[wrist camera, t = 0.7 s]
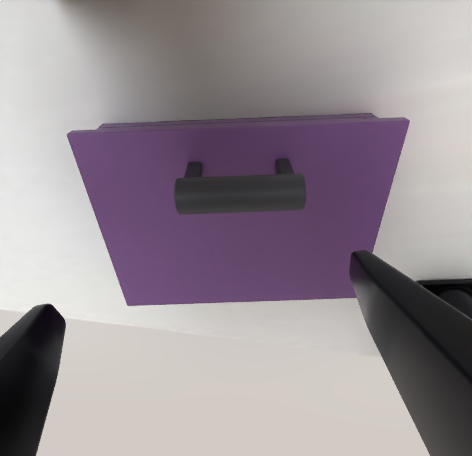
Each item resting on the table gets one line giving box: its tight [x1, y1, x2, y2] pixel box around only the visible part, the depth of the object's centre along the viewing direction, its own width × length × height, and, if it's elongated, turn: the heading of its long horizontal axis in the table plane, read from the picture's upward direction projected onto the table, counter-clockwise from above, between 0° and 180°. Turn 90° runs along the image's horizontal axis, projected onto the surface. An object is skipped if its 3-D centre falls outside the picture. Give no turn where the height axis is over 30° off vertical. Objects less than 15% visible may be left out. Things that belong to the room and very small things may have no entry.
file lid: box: [67, 117, 410, 306], centre depth 17 cm, size 12×17×4 cm
